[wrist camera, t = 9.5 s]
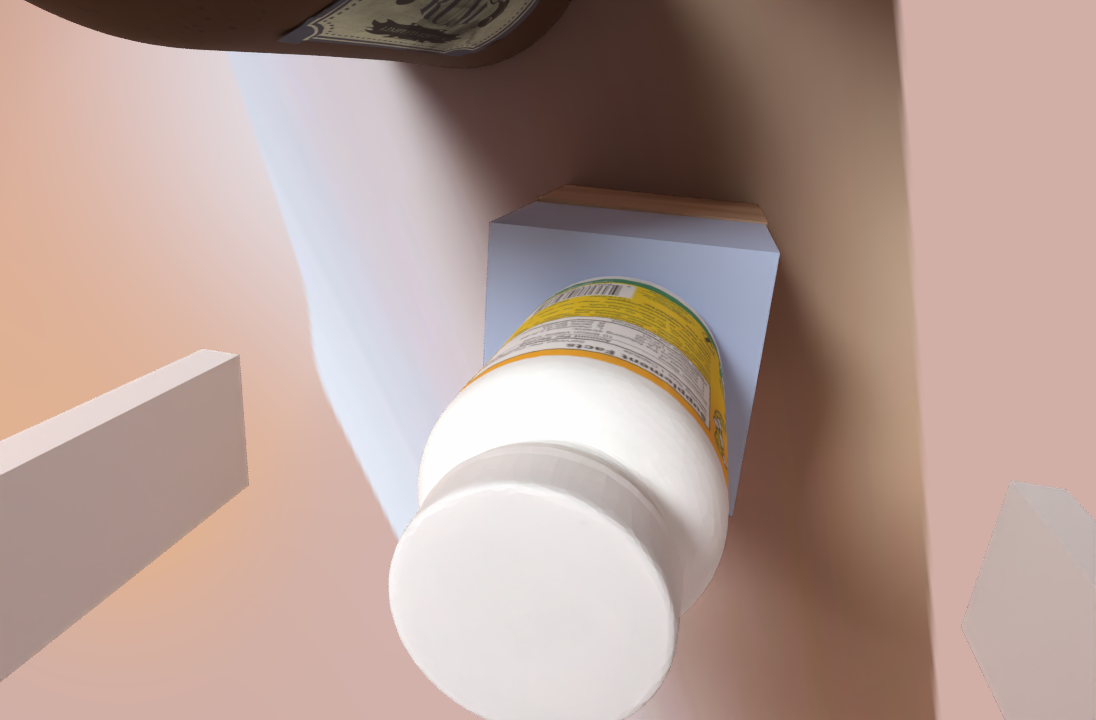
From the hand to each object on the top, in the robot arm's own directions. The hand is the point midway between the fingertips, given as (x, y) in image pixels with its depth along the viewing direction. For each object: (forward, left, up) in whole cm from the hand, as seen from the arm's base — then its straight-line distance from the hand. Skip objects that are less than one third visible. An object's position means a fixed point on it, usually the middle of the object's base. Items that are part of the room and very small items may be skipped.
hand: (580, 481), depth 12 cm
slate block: (0, 0, -11) cm, 11 cm away
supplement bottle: (0, 0, -6) cm, 7 cm away
